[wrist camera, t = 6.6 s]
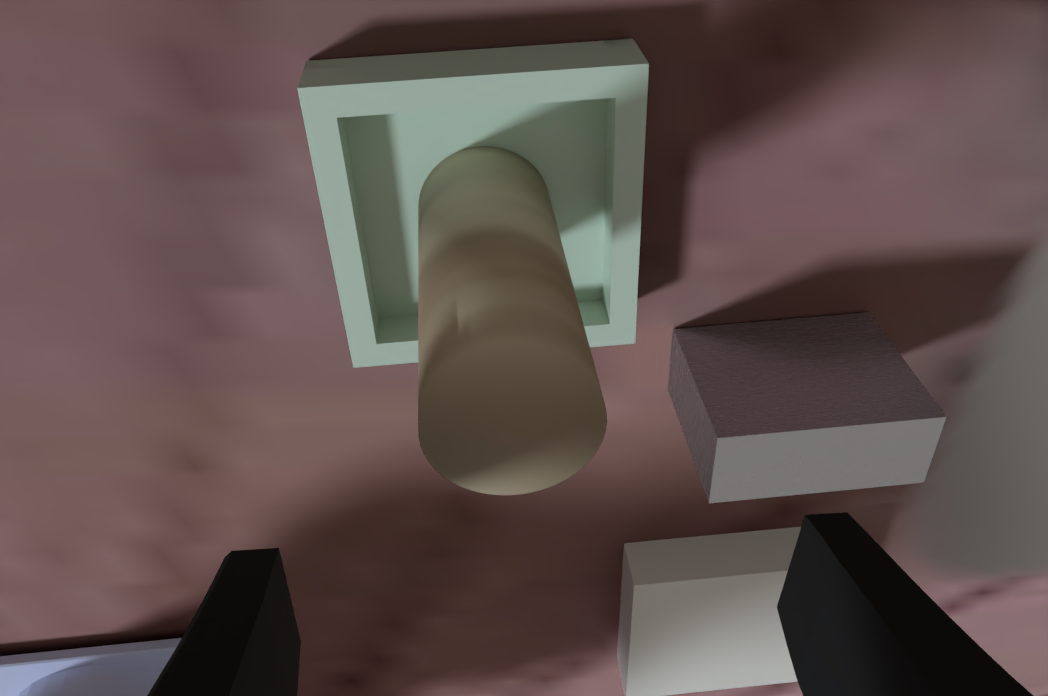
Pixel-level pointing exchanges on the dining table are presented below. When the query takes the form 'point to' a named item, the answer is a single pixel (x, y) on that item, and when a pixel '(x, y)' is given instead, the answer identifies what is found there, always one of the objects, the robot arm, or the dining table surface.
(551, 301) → the dowel
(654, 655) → the tile
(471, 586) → the dining table surface
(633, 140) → the tray
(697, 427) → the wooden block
